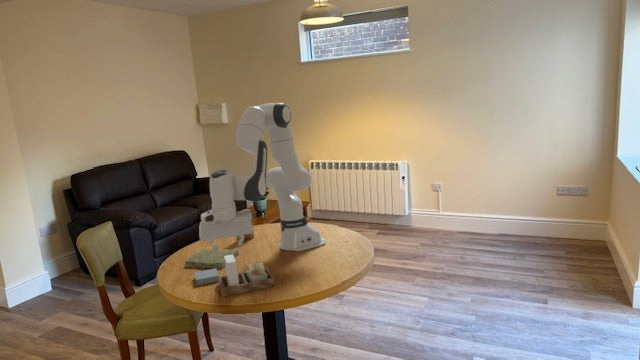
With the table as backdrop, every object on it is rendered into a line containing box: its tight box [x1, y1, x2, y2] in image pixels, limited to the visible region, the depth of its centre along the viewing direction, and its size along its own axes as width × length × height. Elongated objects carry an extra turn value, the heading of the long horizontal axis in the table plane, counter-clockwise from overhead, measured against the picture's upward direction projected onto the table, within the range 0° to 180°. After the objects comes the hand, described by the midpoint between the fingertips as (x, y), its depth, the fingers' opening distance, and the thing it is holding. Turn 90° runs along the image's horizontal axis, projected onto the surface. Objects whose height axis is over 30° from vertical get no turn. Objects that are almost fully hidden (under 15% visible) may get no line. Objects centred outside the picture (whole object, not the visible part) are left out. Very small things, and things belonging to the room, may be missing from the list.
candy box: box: [235, 208, 255, 242], centre depth 239 cm, size 9×4×15 cm, turn 140°
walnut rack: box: [218, 267, 275, 297], centre depth 180 cm, size 20×13×4 cm, turn 109°
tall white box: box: [224, 255, 240, 287], centre depth 178 cm, size 4×9×12 cm, turn 19°
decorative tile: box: [183, 248, 240, 269], centre depth 211 cm, size 19×20×4 cm
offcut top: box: [248, 261, 266, 277], centre depth 181 cm, size 6×8×2 cm
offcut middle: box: [246, 270, 268, 282], centre depth 181 cm, size 6×8×2 cm
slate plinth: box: [194, 268, 220, 287], centre depth 189 cm, size 9×9×2 cm
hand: (228, 248), depth 176 cm, fingers open, 8 cm apart
